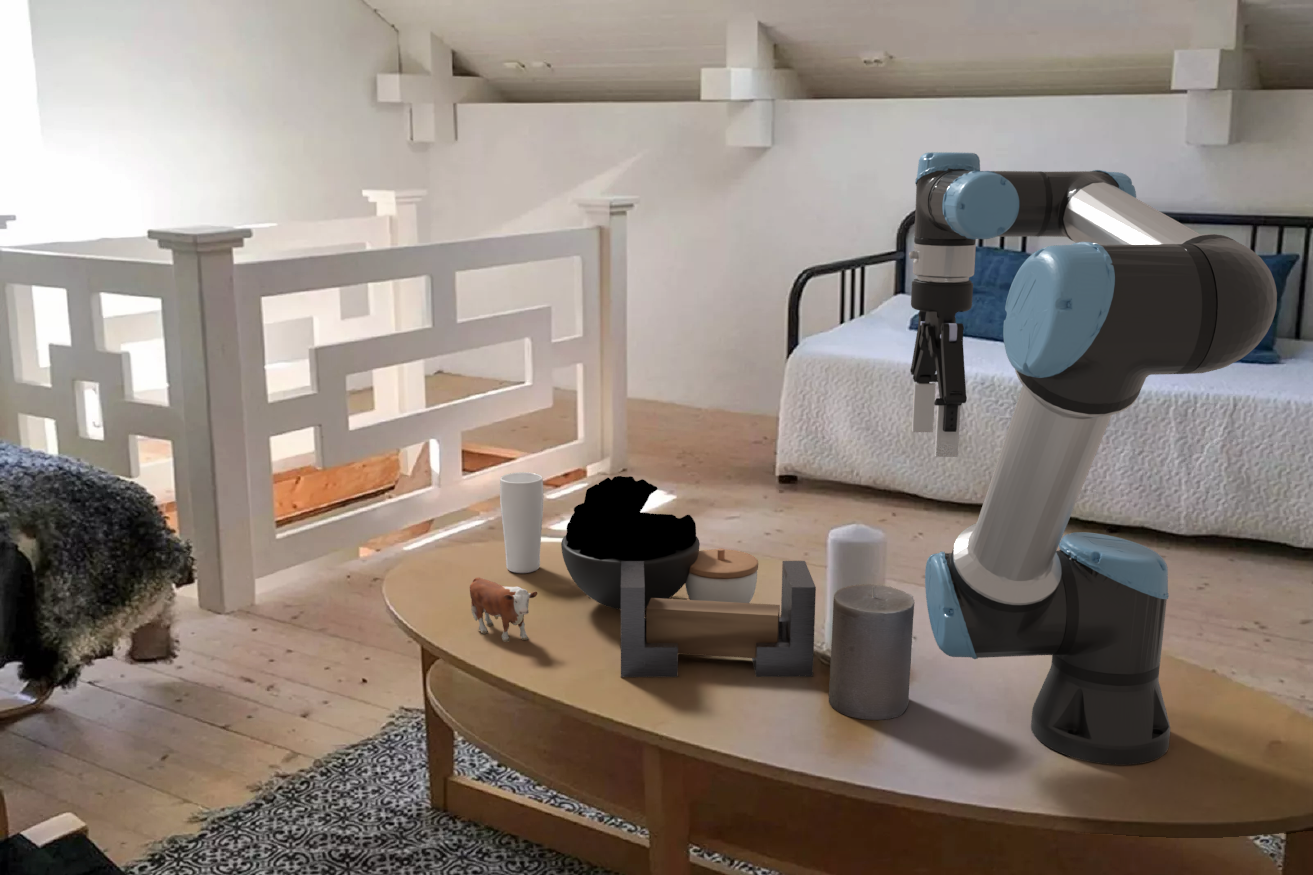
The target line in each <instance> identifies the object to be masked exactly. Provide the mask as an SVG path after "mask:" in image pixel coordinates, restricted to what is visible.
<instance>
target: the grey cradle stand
mask: <svg viewBox="0 0 1313 875" xmlns="http://www.w3.org/2000/svg"><path fill="white" fill-rule="evenodd" d="M781 566H782V569H781V572H782V573H781V604H780V606H781V607H780V616H779V643H756V651H755V658H751V660H752V665H753V669H754V673H755V677H757V678H759V677H761V678H762V677H763V678H765V677H766V678H767V677H773V678H775V677H781V678H782V677H783V678H784V677H788V678H789V677H791V678H792V677H814V657H815V656H814V653H815V651H814V650H815V647H814V646H815V622H816V621H815V620H816V618H815V617H816V594H817V593H816V591H817V590H816V589H817V586H816V584H815V581H814V580H813V579H814V578H813V576H812V574H811V572H810V569H809V567H808V564H807V563H806V560H782V563H781ZM645 611H646V609H645V583H644V561H621V610H620V678H678V677H679V672H678V671H679V654H678V643H646V617H645V615H646V614H645V613H646V612H645Z"/></svg>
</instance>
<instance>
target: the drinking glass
mask: <svg viewBox="0 0 1313 875" xmlns="http://www.w3.org/2000/svg"><path fill="white" fill-rule="evenodd" d="M543 480H544V478H543V476H542V475H541V474H538V473H534V472H524V471H523V472H512V473H507V474H504V475H502V476H500V478H499V483H500V484H499V503H500V513H501V523H502V532H503V539H504V540H503V541H504V551H505V566H506V569H507V570H508V571H509V572H512V573H515V574H527V573H533V572H535V571H538V569H539V568H540V566H541V544H542V542H541V541H542V529H543V528H542V527H543V514H544V481H543Z"/></svg>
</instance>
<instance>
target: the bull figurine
mask: <svg viewBox="0 0 1313 875" xmlns="http://www.w3.org/2000/svg"><path fill="white" fill-rule="evenodd" d="M537 595H538V591H535V590H534V591H532V592H528V590H527V589H525V588H521V587H520V586H505V585H502V584H499V583H497V582H495V581H491V580H488V579H485V578H481V577H474V578H473V580H472V582H471V584H470V585H469V596H470V599H471V600H470V601H471V605H470V606H471V614H472V616H473V618H474V620H475V621H476V622H477V621H478V625H479V627H478V630H479V631H480V634H481V635H482V634H483V635H486V634H488V633H489V631H488V628H487V626H490V627H491V626H493V625H494V622H493V621H492V619H491V617H490V616H492V617H494V619H495V620H498V619H499V618H500V619H501V622H502V628H503V632H502V634H501V636H500V637H501V639H502V642H505V643H509V642H510V637H509V633H508V631H509V629H510V624H511V625H513V626H517V627H518V628H519V636H520V639H521V640H522V641H528V640H529V636H528V635H527V632H526V629H525V625H526V624H525V621H524V618H525V615H528V614H529V612H530V611H529V603H530V599H533V598H535V597H536V596H537ZM484 621H485V622H484ZM485 623H486V624H485ZM486 625H487V626H486Z"/></svg>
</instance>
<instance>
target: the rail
mask: <svg viewBox="0 0 1313 875" xmlns="http://www.w3.org/2000/svg"><path fill="white" fill-rule="evenodd" d="M780 606H781V604H771V603H769V604H768V603H752V602H750V603H737V602H718V601H700V600H690V599H680V598H678V599H677V598H669V599H663V598H651V599H650V601H649V604H648V606H647V608H646V609H645V611H646V612H645V613H646V614H645V615H646V617H645V618H646V643H678V655H692V656H693V655H695V656H708V657H709V656H710V657H711V656H712V657H727V658H741V659H742V658H743V659H744V658H746V659H748V658H749V659H752V658H755V651H756V643H779V617H780V613H781V607H780Z"/></svg>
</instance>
